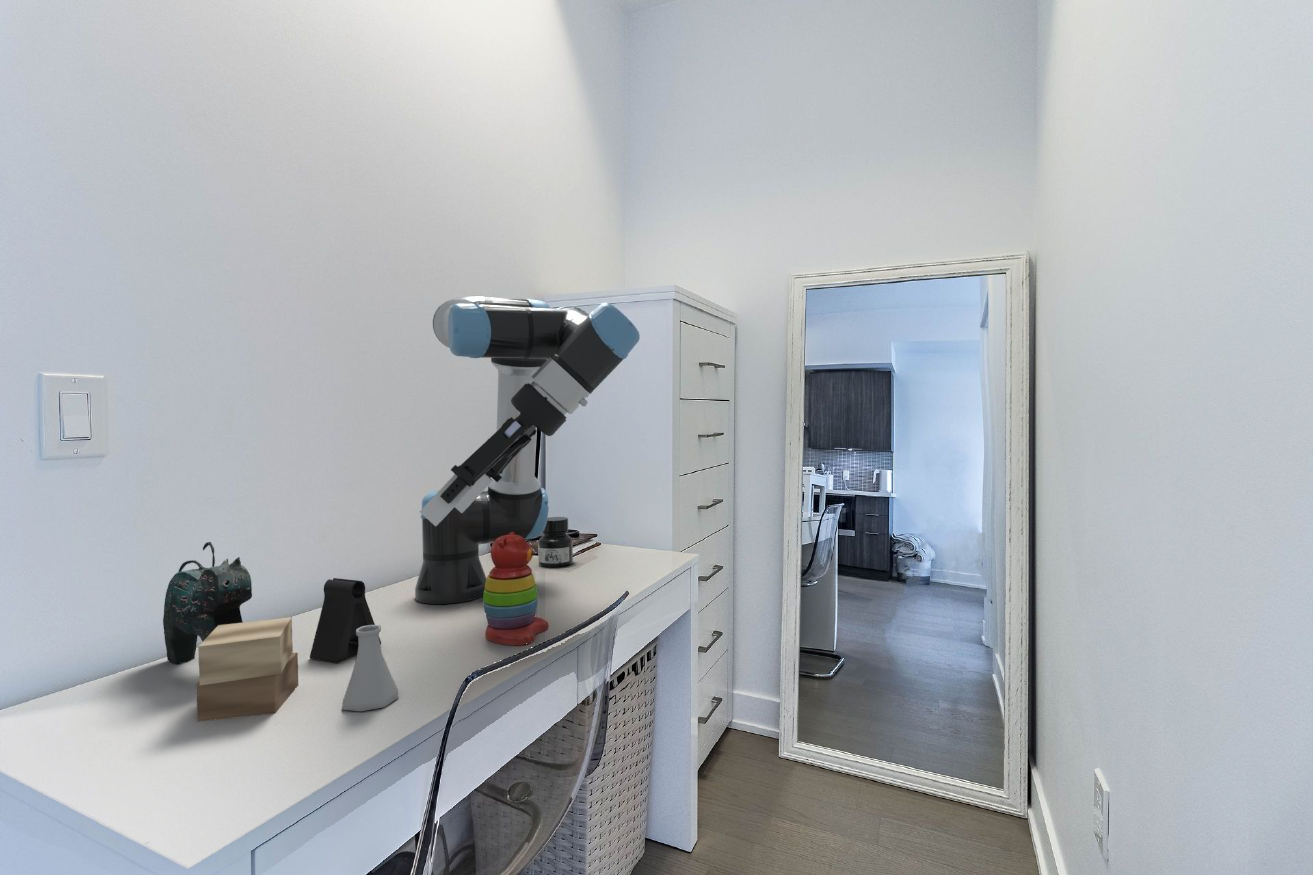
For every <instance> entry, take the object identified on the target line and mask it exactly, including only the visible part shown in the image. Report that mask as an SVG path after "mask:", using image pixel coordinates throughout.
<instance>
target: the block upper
mask: <svg viewBox="0 0 1313 875" xmlns="http://www.w3.org/2000/svg"><path fill="white" fill-rule="evenodd" d="M292 619H293V618H292V616H289V617H288V616H287V617H280V618H279V617H278V618H271V619H264V620H262V619H261V620H255V621H246V622H245V621H243V623H235V624H226V625H218V626H217V627H216V628H215V629H214V630H213V631H212V633H211V634H210V635H209V636H208V637H207V638H206V639H205V640H204V641H203V642H201V643H200V644H199V645H198V646H197V648H198V649H197V651H198V675H199V676H198V677H199V682H200V685H207V684H214V683H221V682H228V681H235V680H242V679H249V678H256V677H263V676H270V675H277V674H281V673H282V671H283V669H284V667H285V665H286V663H287V661H288V659H289V657H290V655H291V654H292V653H294V652H293V649H294V645H293V622H292V621H293V620H292Z"/></svg>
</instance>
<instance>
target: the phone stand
mask: <svg viewBox="0 0 1313 875" xmlns="http://www.w3.org/2000/svg"><path fill="white" fill-rule="evenodd" d="M373 618H374V617H373V615H372V613H371V610H370V607H369V604H368V602H367V599H366V585H365V582H364V581H363V580H355V579H346V578H338V577H337V578H336V577H333V579H329V578H328V579H327V580H326V582H325V583H324V585H323V603H322V607H321V611H320V615H319V619H318V623H317V627H316V630H315V635H314V638H313V642H312V645H311V646H312V647H311V650H310V653H309V654H310V655H309V659H310V660H317V661H322V662H329V663H334V664H341V663H343V662H344V661H347V660H349V659H353V658H355V657H357V653H358V647H359V641H358V636H357V635H356V629H358V628H360V627H362V626H367V625H376V624H375V621H374V619H373ZM379 642H380V646H381V645H382V640H381V637H380V636H379Z"/></svg>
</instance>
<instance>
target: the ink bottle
mask: <svg viewBox="0 0 1313 875" xmlns="http://www.w3.org/2000/svg"><path fill="white" fill-rule="evenodd" d="M568 532H569V518H568V517H565V516H551V517H550V516H548V518H547V523H546V526H545V529H544V531H543V533H542V534H543V535H542V536H541V537H540V538H539V540H538V541H537V542H538V544H537V550H538V551H537V553H538V555H537V557H538V558H537V559H538V565H539V566H541V567H543V568H544V567H545V568H562V567H567V566H570V565H571V564H573V562H574V561H573V560H574V556H573V554H574V553H573V539H572V536H570V535H569V534H568Z"/></svg>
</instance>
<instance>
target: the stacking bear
mask: <svg viewBox="0 0 1313 875" xmlns="http://www.w3.org/2000/svg"><path fill="white" fill-rule="evenodd" d="M491 544H492V545H491V547H490V558H491V561H492V563H493V565H494V567H493V568H491V569H490V571H489V572H488V573H489V574H488V575H486V583H485V589H484V595H483V596H482V597H483V598H482V599H483V600H482V601H483V610H484V613H485V617H486V621H487V627H486V628H485V629H486V630H485V632H484V633H485V634H484V636H485V638H486V639H487V640H488V641H491V643H492V642H493V643H496V644H500V645H506V646H525V645H524V644H526V643H530V644H532V642H531V641H533V642H534V640H535V635H537V634H538V633H537V632H539V633H542V632H544V631H543V630H545V631H546V630H548V629H549V623H548V621H547V620H546V619H545V618H543V617H538V616H536V613H537V608H538V595H539V594H538V587H537V585H536V580H535V577H534V574H533V570H532V568H531V567H530V566H529V565H528V564H529V563H530V562H531V561H532V559H533V556H534V549H533V547H532V546H531V545H530V544H529V543H528V542H527V541H526V540H525V539H524V538H523V537H521V536H519V535H515V533H514V532H511V533H510V534H509V535H504V536H501V537H499V538H497V539H496V540H495V541H494V542H493V543H491ZM541 631H542V632H541ZM536 633H537V634H536ZM526 645H527V644H526Z"/></svg>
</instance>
